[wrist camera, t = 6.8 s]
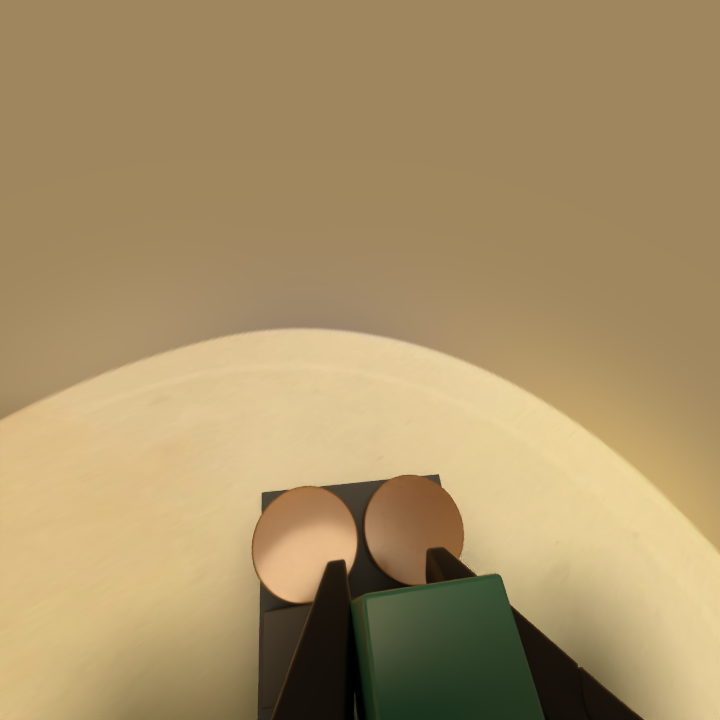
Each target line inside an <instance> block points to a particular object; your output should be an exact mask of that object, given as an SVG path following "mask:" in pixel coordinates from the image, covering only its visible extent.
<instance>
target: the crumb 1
mask: <svg viewBox="0 0 720 720" xmlns="http://www.w3.org/2000/svg"><path fill="white" fill-rule="evenodd" d="M357 552H358V530H357V526H356V522H355V519H354V517H353V514H352V513H351V511H350V509H349V507H348V506H347V505H346V504H345V502H344V501H343V500H342V499H341V498H340V497H338V496H337V495H336V494H334V493H332V492H331V491H329V490H326V489H324V488H320V487H315V486H303V487H297V488H294V489H291V490H289V491H286V492H284V493H283V494H281V495H279V496H278V497H277V498H276V499H274V500H273V501H272V502H271V503H270V504H269V505H268V506H267V508H266V509H265V510H264V512H263V513H262V515H261V516H260V518H259V520H258V522H257V525H256V528H255V531H254V534H253V539H252V559H253V565H254V568H255V571H256V574H257V576H258V578H259V580H260V581H261V583H262V585H263V586H264V587H265V588H266V589H267V590H268V591H269V592H270V593H271V594H272V595H273V596H275V597H276V598H278V599H280V600H282V601H284V602H287V603H291V604H298V605H305V604H312V603H313V601H314V598H315V595H316V592H317V590H318V587H319V584H320V581H321V578H322V576H323V573H324V570H325V567H326V565H327V563H328V562H329V561H332V560H340V559H343V560H345V562H346V568H347V575H348V576H349V575H350V573H351V571H352V569H353V566H354V564H355V561H356V557H357Z"/></svg>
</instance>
